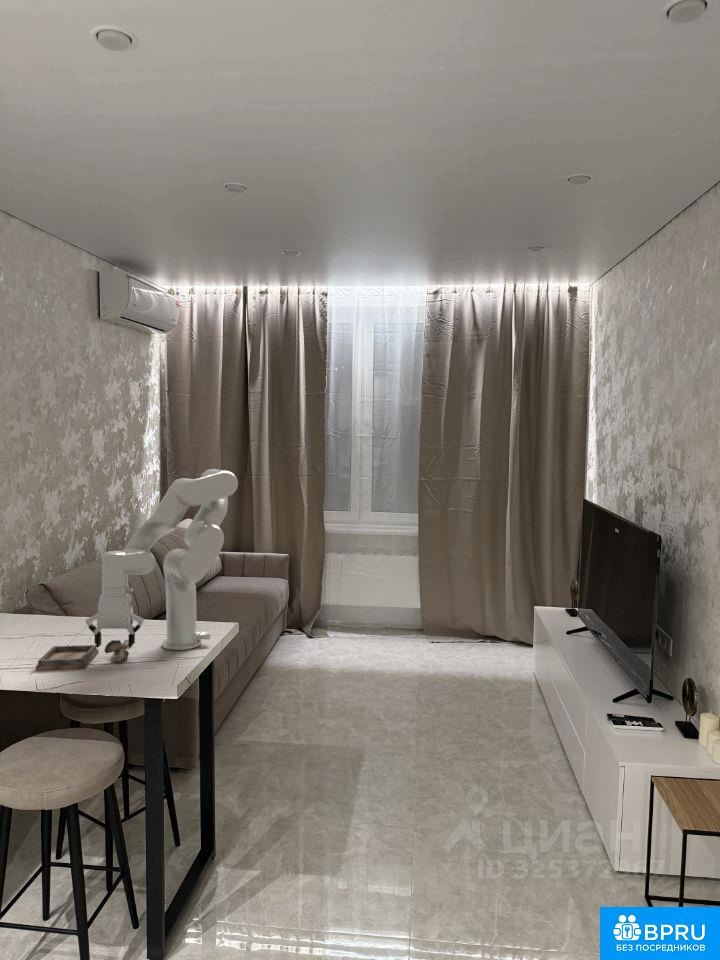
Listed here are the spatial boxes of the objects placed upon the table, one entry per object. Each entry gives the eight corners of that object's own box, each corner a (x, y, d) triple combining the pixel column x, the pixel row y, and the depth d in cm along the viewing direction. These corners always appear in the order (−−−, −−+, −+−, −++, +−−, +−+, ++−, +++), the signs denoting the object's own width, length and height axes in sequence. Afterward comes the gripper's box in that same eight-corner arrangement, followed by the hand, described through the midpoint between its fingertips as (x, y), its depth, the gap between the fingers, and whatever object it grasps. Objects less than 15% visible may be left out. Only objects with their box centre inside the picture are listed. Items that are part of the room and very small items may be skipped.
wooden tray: (98, 652, 226) (98, 644, 226) (85, 668, 212) (84, 660, 211) (52, 654, 225) (52, 645, 225) (36, 670, 210) (35, 661, 210)
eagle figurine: (103, 652, 224) (98, 656, 215) (116, 632, 225) (111, 635, 216) (124, 664, 224) (120, 669, 216) (137, 644, 226) (133, 648, 217)
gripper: (146, 589, 225) (145, 642, 226) (89, 588, 223) (89, 642, 224) (141, 594, 217) (140, 649, 218) (82, 594, 216) (82, 649, 217)
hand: (114, 646), depth 221 cm, fingers open, 9 cm apart
